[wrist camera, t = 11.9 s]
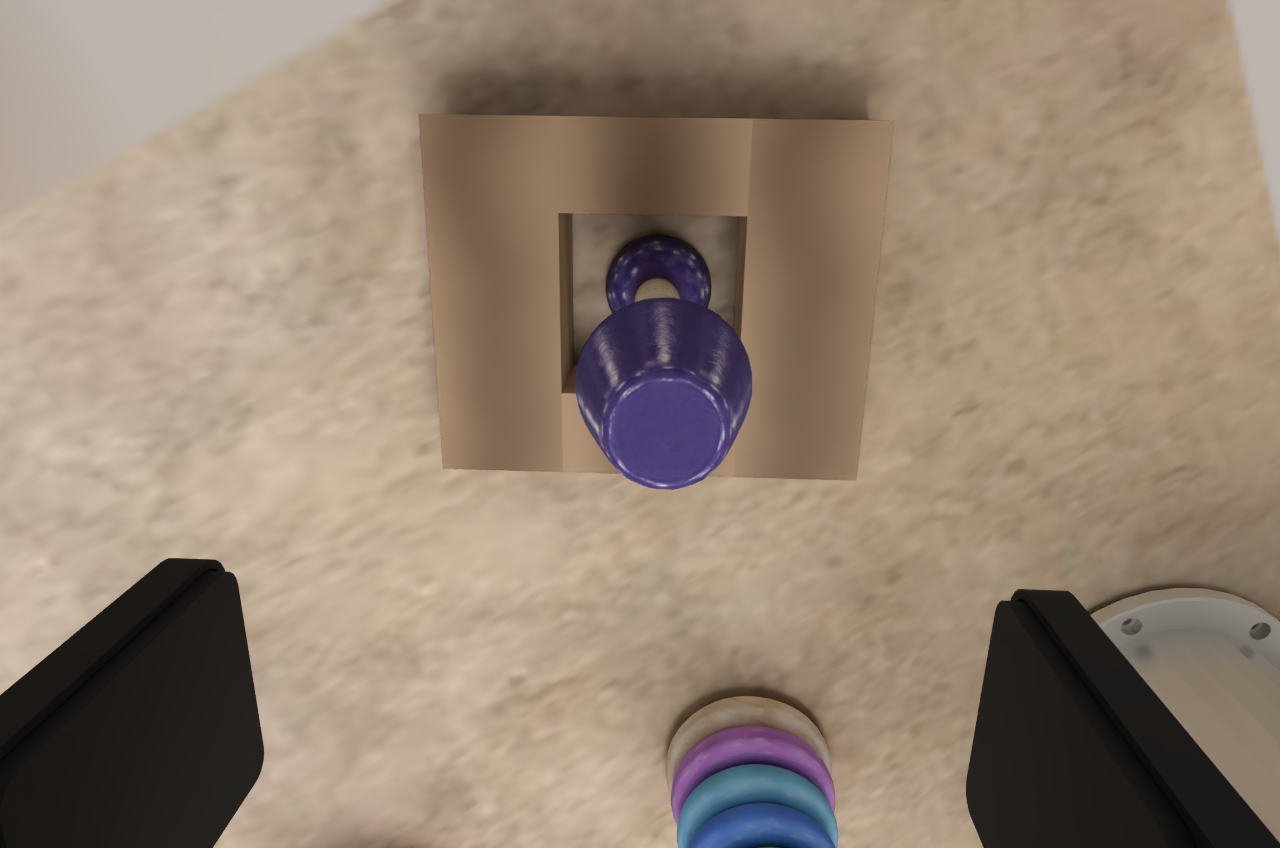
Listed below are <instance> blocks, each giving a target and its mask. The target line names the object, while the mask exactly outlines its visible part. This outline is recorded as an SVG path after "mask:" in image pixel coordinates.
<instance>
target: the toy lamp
mask: <svg viewBox="0 0 1280 848" xmlns="http://www.w3.org/2000/svg"><path fill="white" fill-rule="evenodd" d="M606 295H607V300H608V304H609V307H610V309H611V311H612V314H611V315H610V316H609V317H607V318H606V319H605V320H604V321H603V322H602V323H601V324H600V325H599V326H598V327H597V328H596V329H595V330H594V331H593V333H592V334H591V335H590V337H589V339H588V340H587V342H586V343H585V345H584V347H583V350H582V353H581V355H580V358H579V361H578V366H577V372H576V397H577V401H578V407H579V409H580V413H581V415H582V418H583V420H584V423H585V425H586V426H587V428H588V430H589V432H590V433H591V435H592V436H593V438H594V440H595V441H596V443H597V444H598V446H599V447H600V449H601V450H602V451H603V453H604V454H605V456H606V457H607V458H608V460H609V461H610V462H611V463H612V464H613V466H614V467H615V468H616V469H617V470H618V471H619V472H620V473H622V474H623V475H624V476H625V477H626V478H628V479H630V480H632V481H634V482H636V483H638V484H641V485H643V486H646V487H650V488H655V489H666V490H674V489H678V488H683V487H686V486H689V485H693V484H695V483H697V482H699V481H701V480H703V479H704V478H706V477H707V476H708V475H709V474H711V473H712V472H713V471H714V470H715V469H716V468H717V467H718V466H719V465H720V464H721V462H722V461H723V460H724V458H725V457H726V455H727V454H728V452H729V450H730V448H731V446H732V444H733V443H734V441H735V439H736V437H737V435H738V432H739V430H740V428H741V426H742V424H743V422H744V419H745V417H746V414H747V411H748V409H749V405H750V400H751V396H752V371H751V366H750V361H749V357H748V355H747V352H746V350H745V347H744V345H743V343H742V341H741V339H740V338H739V336H738V335H737V333H736V332H735V331H734V330H733V328H732V327H731V326H730V325H729V324H728V323H727V322H726V321H724V320H723V319H722V318H721V317H720V316H719V315H718V314H716V313H714V312H713V311H711V310H710V309H708V308H707V307H708V304H709V301H710V296H711V282H710V275H709V271H708V268H707V267H706V264H705V262H704V260H703V259H702V257H701V256H700V255H699V254H698V253H697V252H696V251H695V249H693V248H692V247H691V246H689V245H688V244H686V243H684V242H683V241H681V240H679V239H676V238H673V237H669V236H659V235H655V236H648V237H644V238H641V239H638V240H636V241H634V242H632V243H630V244H628V245H627V246H626V247H625V248H624V249H623V250H622V251H621V252H620V253H619V254H618V255H617V257H616V259H615V260H614V261H613V263H612V265H611V268H610V271H609V274H608V276H607V283H606Z"/></svg>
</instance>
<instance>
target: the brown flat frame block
mask: <svg viewBox="0 0 1280 848" xmlns="http://www.w3.org/2000/svg"><path fill="white" fill-rule="evenodd" d="M419 125H420V140H421V155H422V169H423V184H424V199H425V213H426V228H427V243H428V258H429V272H430V287H431V302H432V316H433V331H434V346H435V360H436V375H437V390H438V404H439V419H440V434H441V448H442V463H443V469H475V470H510V471H545V472H580V473H614V474H622V473H620V472H619V471H618V470H617V469H616V468H615V467H614V466H613V464H612V463H611V462H610V461H609V460H608V458H607V457H606V456H605V454H604V453H603V451H602V450H601V449H600V447H599V446H598V444H597V443H596V441H595V440H594V438H593V436H592V435H591V433H590V432H589V430H588V428H587V426H586V425H585V423H584V420H583V418H582V415H581V413H580V409H579V407H578V401H577V397H576V372H577V366H578V365H574V340H573V262H572V213H582V214H638V215H694V216H739V232H738V251H737V271H736V291H735V311H734V331H735V332H736V333H737V335H738V336H739V338H740V339H741V341H742V343H743V345H744V347H745V350H746V352H747V355H748V357H749V361H750V366H751V371H752V396H751V400H750V405H749V409H748V411H747V414H746V417H745V419H744V422H743V424H742V426H741V428H740V430H739V432H738V435H737V437H736V439H735V441H734V443H733V444H732V446H731V448H730V450H729V452H728V454H727V455H726V457H725V458H724V460H723V461H722V462H721V464H720V465H719V466H718V467H717V468H716V469H715V470H714V471H713V472H712V473H711V474H709V475H708V476H718V477H753V478H788V479H822V480H857V472H858V462H859V453H860V443H861V434H862V424H863V415H864V405H865V396H866V386H867V377H868V367H869V358H870V348H871V339H872V329H873V320H874V310H875V301H876V292H877V282H878V273H879V263H880V254H881V244H882V235H883V225H884V216H885V206H886V197H887V187H888V178H889V168H890V159H891V149H892V140H893V130H894V121H890V120H818V119H745V118H673V117H600V116H528V115H456V114H419Z"/></svg>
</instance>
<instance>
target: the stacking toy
mask: <svg viewBox="0 0 1280 848" xmlns="http://www.w3.org/2000/svg"><path fill="white" fill-rule="evenodd" d="M831 775H832V768H831V758H830V753H829V750H828V747H827V744H826V742H825V740H824V738H823V736H822V734H821V733H820V731H819V730H818V728H817V727H816V726H815V725H814V724H813V723H812V721H811V720H810V719H809V718H808V717H806V716H805V715H804V714H803V713H801V712H800V711H798V710H797V709H795V708H793V707H791V706H789V705H787V704H785V703H782V702H779V701H776V700H772V699H768V698H763V697H755V696H738V697H731V698H726V699H721V700H719V701H716V702H713V703H711V704H709V705H707V706H705V707H703V708H701V709H700V710H698V711H697V712H696V713H694V714H693V715H692V716H690V717H689V718H688V719H687V720H686V721H685V722H684V723H683V724H682V726H681V727H680V728H679V729H678V731H677V732H676V734H675V736H674V737H673V739H672V741H671V744H670V747H669V750H668V754H667V760H666V776H667V782H668V786H669V790H670V792H671V806H672V811H673V815H674V819H675V821H676V824H677V842H678V848H837V845H838V829H837V823H836V819H835V816H834V810H835V790H834V785H833V781H832V778H831Z"/></svg>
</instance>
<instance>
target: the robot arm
mask: <svg viewBox="0 0 1280 848" xmlns="http://www.w3.org/2000/svg"><path fill="white" fill-rule="evenodd" d="M263 759H264V746H263V740H262V733H261V727H260V721H259V714H258V708H257V702H256V695H255V689H254V683H253V676H252V670H251V664H250V657H249V651H248V645H247V638H246V632H245V626H244V619H243V613H242V607H241V600H240V594H239V588H238V583H237V579H236V577H235V576H234V574H233V573H231V572H225V569H224V567H223V566H222V564H221V563H220V562H218V561H217V560H209V559H182V558H168V559H166V560H164V561H162V562H161V563H160V564H159V565H157V566H156V567H155V568H154V569H152V570H151V571H150V572H149V573H148V574H146V575H145V576H144V577H143V578H142V579H140V580H139V581H138V582H137V583H136V584H134V585H133V586H132V587H131V588H130V589H128V590H127V591H126V592H125V593H123V594H122V595H121V596H120V597H119V598H117V599H116V600H115V601H114V602H113V603H111V604H110V605H109V606H108V607H107V608H105V609H104V610H103V611H102V612H100V613H99V614H98V615H97V616H96V617H94V618H93V619H92V620H91V621H90V622H88V623H87V624H86V625H85V626H84V627H82V628H81V629H80V630H79V631H77V632H76V633H75V634H74V635H73V636H71V637H70V638H69V639H68V640H67V641H65V642H64V643H63V644H62V645H61V646H59V647H58V648H57V649H56V650H54V651H53V652H52V653H51V654H50V655H48V656H47V657H46V658H45V659H44V660H42V661H41V662H40V663H39V664H38V665H36V666H35V667H34V668H33V669H31V670H30V671H29V672H28V673H27V674H25V675H24V676H23V677H22V678H21V679H19V680H18V681H17V682H16V683H15V684H13V685H12V686H11V687H10V688H8V689H7V690H6V691H5V692H4V693H2V694H1V695H0V848H213V846H214V845H215V843H216V842H217V840H218V839H219V837H220V836H221V834H222V833H223V831H224V830H225V828H226V827H227V825H228V824H229V822H230V821H231V819H232V818H233V816H234V815H235V813H236V811H237V810H238V808H239V807H240V805H241V804H242V802H243V801H244V799H245V798H246V796H247V795H248V793H249V792H250V790H251V789H252V787H253V786H254V784H255V783H256V781H257V779H258V777H259V775H260V772H261V769H262V765H263ZM966 797H967V804H968V809H969V812H970V815H971V818H972V821H973V823H974V825H975V828H976V830H977V833H978V835H979V837H980V840H981V842H982V845H983V847H984V848H1280V621H1278V620H1277V619H1276V618H1275V617H1274V616H1272V615H1271V614H1269V613H1268V612H1266V611H1265V610H1264V609H1262V608H1261V607H1259V606H1258V605H1256V604H1255V603H1252V602H1250V601H1248V600H1245V599H1243V598H1240V597H1238V596H1236V595H1233V594H1230V593H1225V592H1220V591H1215V590H1210V589H1204V588H1171V589H1164V590H1156V591H1149V592H1146V593H1142V594H1139V595H1135V596H1132V597H1128V598H1125V599H1122V600H1119V601H1117V602H1115V603H1113V604H1111V605H1109V606H1106V607H1104V608H1102V609H1100V610H1098V611H1096V612H1094V613H1093V614H1091V615H1090V614H1089V613H1088V612H1087V611H1086V610H1085V608H1084V607H1083V606H1082V605H1081V604H1080V602H1079V601H1078V600H1077V599H1076V598H1075V596H1074V595H1072V594H1071V593H1070V592H1069V591H1053V590H1026V589H1018V590H1017V591H1015V592H1014V594H1013V596H1012V598H1011V601H1001V602H999V603H998V605H997V607H996V611H995V616H994V622H993V628H992V633H991V639H990V645H989V651H988V657H987V663H986V669H985V675H984V680H983V686H982V692H981V698H980V704H979V710H978V716H977V721H976V727H975V733H974V739H973V745H972V751H971V757H970V763H969V768H968V774H967V781H966Z"/></svg>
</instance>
